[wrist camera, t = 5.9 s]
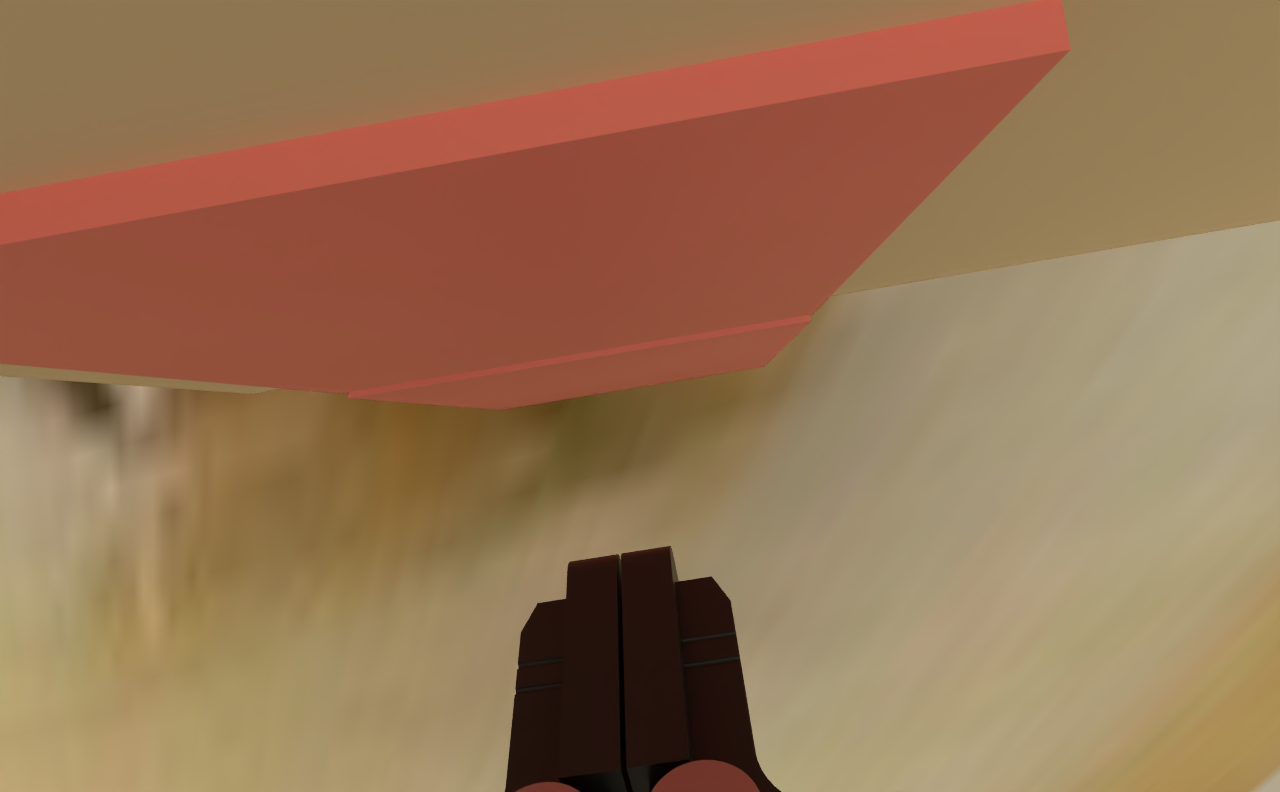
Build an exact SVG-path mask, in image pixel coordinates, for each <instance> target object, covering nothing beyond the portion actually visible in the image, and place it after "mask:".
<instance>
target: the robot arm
mask: <svg viewBox="0 0 1280 792" xmlns="http://www.w3.org/2000/svg"><path fill="white" fill-rule="evenodd" d="M518 666H519V669H517V678H516V695H515V699H514V709H513V719H512V729H511V739H510V750H509V760H508V770H507V780H506V789H505V792H781V791H780V790H779V789H777V788H776V787H775V786H774V785H773V784H772V783H771V782H770V781H769V780H768V779H767V777H766V776H765V774H764V773H763V771H762V770H761V767H760V765H759V763H758V761H757V757H756V752H755V746H754V740H753V734H752V728H751V722H750V716H749V710H748V703H747V697H746V691H745V685H744V679H743V673H742V667H741V661H740V655H739V649H738V643H737V637H736V631H735V625H734V619H733V613H732V607H731V601H730V599H729V598H728V597H727V596H726V594H725V593H724V592H723V590H722V589H721V588H720V587H719V585H718V584H717V583H716V581H715V580H714V579H713V578H712V577H706V578H699V579H692V580H686V581H678V576H677V571H676V566H675V562H674V557H673V552H672V548H671V546H667V547H661V548H654V549H648V550H641V551H635V552H629V553H622V555H621V559H620V556H619V555H618V554H617V555H611V556H604V557H598V558H591V559H585V560H578V561H572V562H569V564H568V571H567V593H566V599H563V600H556V601H549V602H543V603H538V604H537V606H536V607H535V609H534V611H533V613H532V614H531V616H530V618H529V620H528V621H527V623H526V625H525V626H524V628H523V630H522V632H521V638H520V648H519V658H518Z"/></svg>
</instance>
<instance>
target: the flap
mask: <svg viewBox="0 0 1280 792" xmlns="http://www.w3.org/2000/svg"><path fill="white" fill-rule="evenodd" d="M1279 220H1280V0H0V376H7V377H21V378H35V379H49V380H63V381H77V382H92V383H106V384H120V385H134V386H148V387H162V388H176V389H190V390H204V391H218V392H233V393H247V394H253V393H259V392H265V391H271V390H277V389H292V390H303V391H314V392H326V393H337V394H340V393H346V392H348V397H349V398H351V399H364V400H377V401H390V402H403V403H416V404H429V405H441V406H454V407H467V408H480V409H493V410H504V409H510V408H516V407H522V406H529V405H535V404H541V403H547V402H553V401H559V400H565V399H571V398H577V397H583V396H589V395H595V394H601V393H607V392H614V391H620V390H626V389H632V388H638V387H644V386H650V385H656V384H662V383H668V382H674V381H680V380H686V379H692V378H699V377H705V376H711V375H717V374H723V373H729V372H735V371H741V370H747V369H753V368H759V367H765V366H766V365H767V364H768V363H769V362H770V361H771V360H772V359H773V358H774V357H775V356H776V355H777V354H778V353H779V352H780V351H781V350H782V349H783V348H784V347H785V346H786V345H787V344H788V343H789V342H790V341H791V340H792V339H793V338H794V337H795V336H796V335H797V334H798V333H799V332H800V331H801V330H802V329H803V328H804V327H805V326H806V325H807V324H808V323H809V322H810V321H811V319H810V315H811V314H814V313H815V312H816V311H817V310H818V309H819V308H820V307H821V305H822V304H823V303H824V302H825V301H826V300H827V299H828V298H829V297H830V296H834V295H840V294H846V293H852V292H858V291H864V290H870V289H876V288H882V287H887V286H893V285H899V284H905V283H911V282H917V281H923V280H929V279H935V278H941V277H947V276H953V275H959V274H965V273H970V272H976V271H982V270H988V269H994V268H1000V267H1006V266H1012V265H1018V264H1024V263H1030V262H1036V261H1042V260H1048V259H1053V258H1059V257H1065V256H1071V255H1077V254H1083V253H1089V252H1095V251H1101V250H1107V249H1113V248H1119V247H1125V246H1131V245H1136V244H1142V243H1148V242H1154V241H1160V240H1166V239H1172V238H1178V237H1184V236H1190V235H1196V234H1202V233H1208V232H1213V231H1219V230H1225V229H1231V228H1237V227H1243V226H1249V225H1255V224H1261V223H1267V222H1273V221H1279Z"/></svg>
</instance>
